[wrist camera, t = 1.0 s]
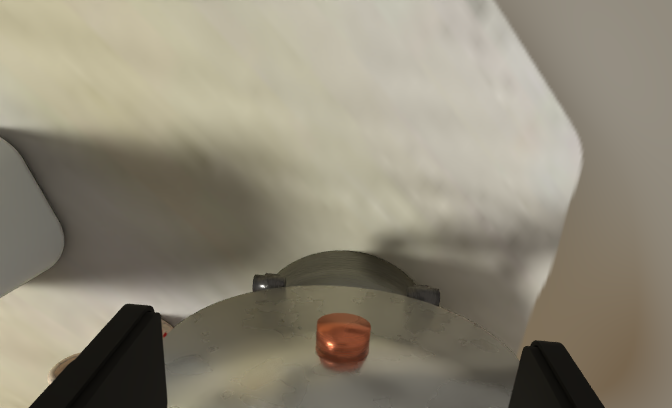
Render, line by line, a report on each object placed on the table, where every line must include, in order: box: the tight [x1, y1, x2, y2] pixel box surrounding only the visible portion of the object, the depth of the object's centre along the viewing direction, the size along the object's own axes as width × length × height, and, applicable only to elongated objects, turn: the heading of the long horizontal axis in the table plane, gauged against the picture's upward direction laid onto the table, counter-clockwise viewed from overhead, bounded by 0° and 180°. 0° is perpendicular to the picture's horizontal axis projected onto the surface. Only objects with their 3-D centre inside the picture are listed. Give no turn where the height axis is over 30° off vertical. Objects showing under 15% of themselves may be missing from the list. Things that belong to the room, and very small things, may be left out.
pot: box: [253, 251, 440, 306], centre depth 43 cm, size 21×25×10 cm
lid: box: [163, 285, 520, 408], centre depth 25 cm, size 20×20×3 cm
